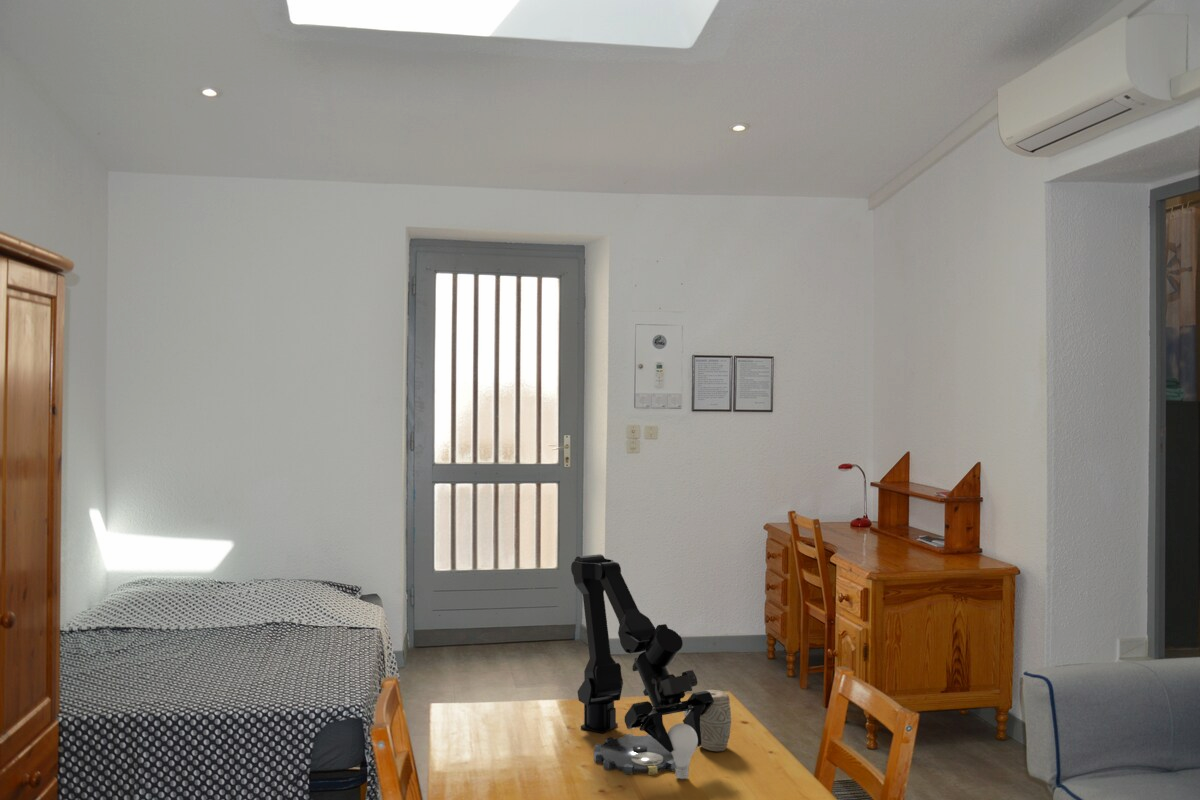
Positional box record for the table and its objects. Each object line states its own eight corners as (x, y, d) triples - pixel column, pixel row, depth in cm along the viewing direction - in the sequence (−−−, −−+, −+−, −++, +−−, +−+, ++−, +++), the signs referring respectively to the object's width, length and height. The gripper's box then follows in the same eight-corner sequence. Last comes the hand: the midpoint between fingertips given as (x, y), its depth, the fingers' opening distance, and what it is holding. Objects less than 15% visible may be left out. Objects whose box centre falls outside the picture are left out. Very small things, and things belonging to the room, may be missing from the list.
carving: (730, 754, 207) (730, 698, 207) (694, 752, 209) (694, 696, 209) (732, 744, 214) (732, 689, 214) (697, 741, 215) (697, 687, 215)
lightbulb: (663, 773, 197) (663, 719, 197) (694, 772, 197) (694, 718, 197) (668, 786, 191) (668, 730, 191) (700, 785, 191) (700, 729, 191)
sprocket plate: (576, 762, 203) (576, 753, 203) (623, 734, 219) (623, 726, 219) (658, 782, 193) (658, 772, 193) (701, 751, 209) (701, 742, 209)
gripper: (631, 663, 193) (661, 736, 183) (709, 651, 202) (741, 720, 192) (612, 692, 200) (639, 764, 190) (687, 680, 209) (718, 747, 199)
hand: (685, 748), depth 193 cm, fingers closed on lightbulb, 6 cm apart
